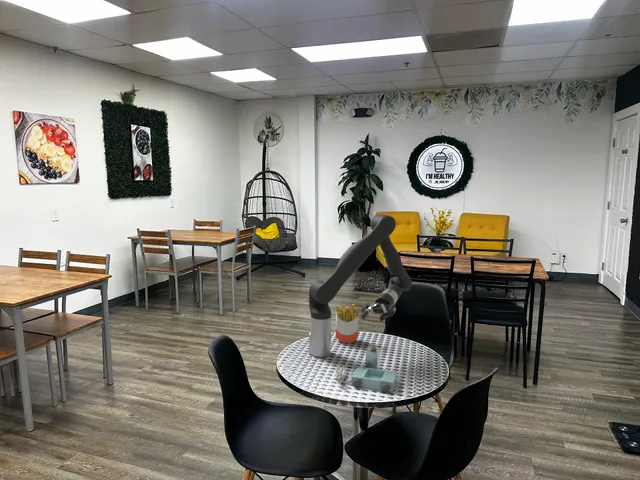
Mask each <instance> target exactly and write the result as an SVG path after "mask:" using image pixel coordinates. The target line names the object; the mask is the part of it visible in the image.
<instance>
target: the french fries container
mask: <svg viewBox="0 0 640 480" xmlns="http://www.w3.org/2000/svg"><path fill="white" fill-rule="evenodd" d="M359 312H360V311H359V310H358V308H356V307H355V303H354V304H353V303H352V304H348V306H347V307H346V304H345V303H343V304H342V306H340V305H339V304H337V305H336V311H335V338H336V339H337V340H338V341H340V343H350V344H351V343H352V344H353V343H354V342H355V341H356V340H358V339H359V316H360V315H359Z"/></svg>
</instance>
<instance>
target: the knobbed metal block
mask: <svg viewBox="0 0 640 480" xmlns="http://www.w3.org/2000/svg"><path fill="white" fill-rule="evenodd" d="M364 367H365V368H373V369H379V370H381V347H378V346H377V345H376V344H371V345H369V346H368V347H367V349H366V351H365V366H364Z"/></svg>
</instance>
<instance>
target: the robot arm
mask: <svg viewBox="0 0 640 480" xmlns="http://www.w3.org/2000/svg"><path fill="white" fill-rule="evenodd" d="M369 225H370V228H371V231H370V233H368V234H367V235H366V236H365V237H363V238H361V239H360V240H358V241H356V242H355V243H353V244H352V245H351V246H349V247H348V248H347V249H346V251H345V252H344V253H343V254H342V255H341V256H340V259H339V260H338V262H337V266H336V267H335V270H334V271H333V273H332V274H331V275H330V276H329V277H328V278H327V279H326V280H325V281H324V280H321V279H317V280H314V281H313V282H312V283H311V284H310V286H309V289H308V303H309V304H308V305H309V306H308V307H309V311H310V332H309V334H308V355H311V356H312V357H318V358H325V357H329V356H330V355H331V354H332V353H331V351H332V347H331V346H332V310H331V308H330V306H329V305H330V304H329V303H330V302H332V300H333V299H334V298H335V297H336V295H337V294H338V292H340V289H342V288H343V286H344V284H346V282H347V281H348V280H349V279H350V278H351V277H352V276H353V274H355V272H356V271H357V270H358V269H360V267H361V266H362V265H363V264H364V262H365V261H366V260H367V259H368V257H370V256H371V254H372V253H374V251H375V250H376V249H377V248H378V247H379V246H380V249H381V251H382V254H383V257H384V260H385V263H386V266H387V269H388V272H389V274H390V275H392V276H393V277H391V278H390V279H389V282H388V285H387V288H385V290H384V291H382V292H381V294H380V295H378V297H377V298H376V300H375V302H374V303H372V304H371V303H370V302H367V303H366V304H365V305H364V306H363V307H362V308H361V319H362V320H366V319H367V317H368V316H369V315H375V314H380V316H379V321H380V322H383V321H384V320H385V319H386V318H388V317H389V318H392V317H393V316H394V314H395V313H396V311H397V308H396V303H397V302H398V300H399V299H400V297H401V295H402V292H408V291H410V290H411V289H412V285H413V283H412V282H413V281H412V279H411V277H410V276H409V274H408V273H407V271H406V269H405V267H404V266H403V262H402V259H401V256H400V253H399V252H398V250H397V248H396V247H395V245H394V243H393V242H392V240H391V238H390V236H391V235H392V234H393V232H394V231H395V229H396V225H397V222H396V219H395V218H394V217H393V216H391V215H388V214H382V213H377V214H374V215H373V216H372V217H371V219H370V224H369Z"/></svg>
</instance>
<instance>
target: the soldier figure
mask: <svg viewBox="0 0 640 480" xmlns="http://www.w3.org/2000/svg"><path fill="white" fill-rule="evenodd" d="M340 366H341V365H340V364H338V365H337V367H336V369H335V376H336V378H334V380H335V381H336V382H337V383H338V384H340V383H341V384H344V385H345V384H348V383H351V379H349V380H345V379H346V377H348V373H349V370H346V371H345V372H344V373H343V369H345V366H344V365H343V366H342V367H340ZM339 368H340V369H339Z"/></svg>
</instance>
